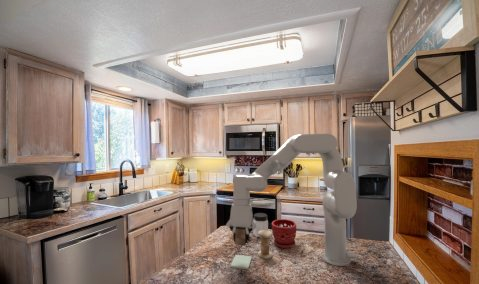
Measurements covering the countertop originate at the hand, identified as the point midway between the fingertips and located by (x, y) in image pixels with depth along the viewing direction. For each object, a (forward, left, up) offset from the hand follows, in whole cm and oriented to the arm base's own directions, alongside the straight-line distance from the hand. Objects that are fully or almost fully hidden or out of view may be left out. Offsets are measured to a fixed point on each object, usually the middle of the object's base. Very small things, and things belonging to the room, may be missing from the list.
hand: (241, 241), depth 101 cm
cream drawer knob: (-10, -9, -10) cm, 17 cm away
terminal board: (0, 0, -10) cm, 10 cm away
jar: (-5, -34, -10) cm, 36 cm away
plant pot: (-19, -23, -10) cm, 32 cm away
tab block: (0, 0, -1) cm, 1 cm away
